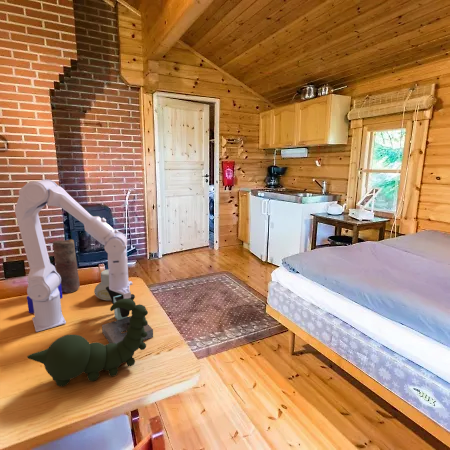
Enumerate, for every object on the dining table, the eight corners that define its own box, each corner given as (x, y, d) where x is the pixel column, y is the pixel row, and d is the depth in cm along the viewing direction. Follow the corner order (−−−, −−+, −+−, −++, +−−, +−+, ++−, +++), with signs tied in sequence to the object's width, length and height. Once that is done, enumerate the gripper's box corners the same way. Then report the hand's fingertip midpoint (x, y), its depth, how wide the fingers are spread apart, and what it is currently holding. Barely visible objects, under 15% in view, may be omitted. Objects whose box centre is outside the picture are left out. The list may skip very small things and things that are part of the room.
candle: (53, 292, 114) (47, 242, 109) (66, 285, 121) (61, 237, 116) (71, 294, 112) (66, 243, 108) (83, 286, 119) (79, 238, 115)
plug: (114, 316, 97) (113, 296, 95) (124, 313, 99) (123, 294, 97) (118, 320, 94) (116, 300, 93) (128, 317, 96) (126, 297, 95)
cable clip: (51, 296, 111) (50, 281, 109) (62, 298, 110) (60, 282, 108) (25, 312, 99) (22, 296, 98) (36, 314, 98) (34, 297, 97)
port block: (102, 332, 88) (101, 325, 87) (138, 321, 94) (138, 313, 94) (114, 351, 79) (114, 343, 79) (153, 337, 86) (152, 329, 86)
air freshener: (128, 291, 115) (127, 267, 113) (123, 301, 107) (121, 275, 105) (99, 292, 114) (97, 267, 112) (91, 302, 106) (89, 276, 104)
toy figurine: (139, 355, 81) (30, 377, 69) (143, 289, 77) (28, 300, 66) (148, 377, 72) (25, 406, 61) (152, 304, 69) (23, 320, 57)
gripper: (139, 275, 90) (141, 316, 93) (122, 262, 101) (125, 299, 104) (116, 281, 86) (119, 324, 89) (101, 267, 97) (104, 305, 100)
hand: (121, 311), depth 96 cm, fingers open, 7 cm apart
